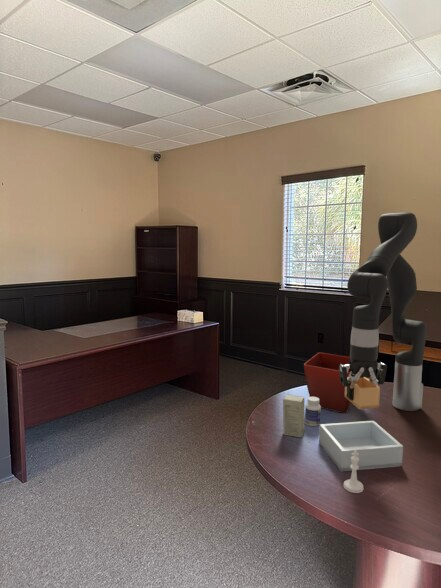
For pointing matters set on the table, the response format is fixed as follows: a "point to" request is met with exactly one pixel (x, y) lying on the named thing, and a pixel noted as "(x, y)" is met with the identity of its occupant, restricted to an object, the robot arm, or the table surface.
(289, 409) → the skincare box
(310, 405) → the pill bottle
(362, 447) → the big crate
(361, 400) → the small crate
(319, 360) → the plant pot
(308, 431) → the table surface
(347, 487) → the chess piece
